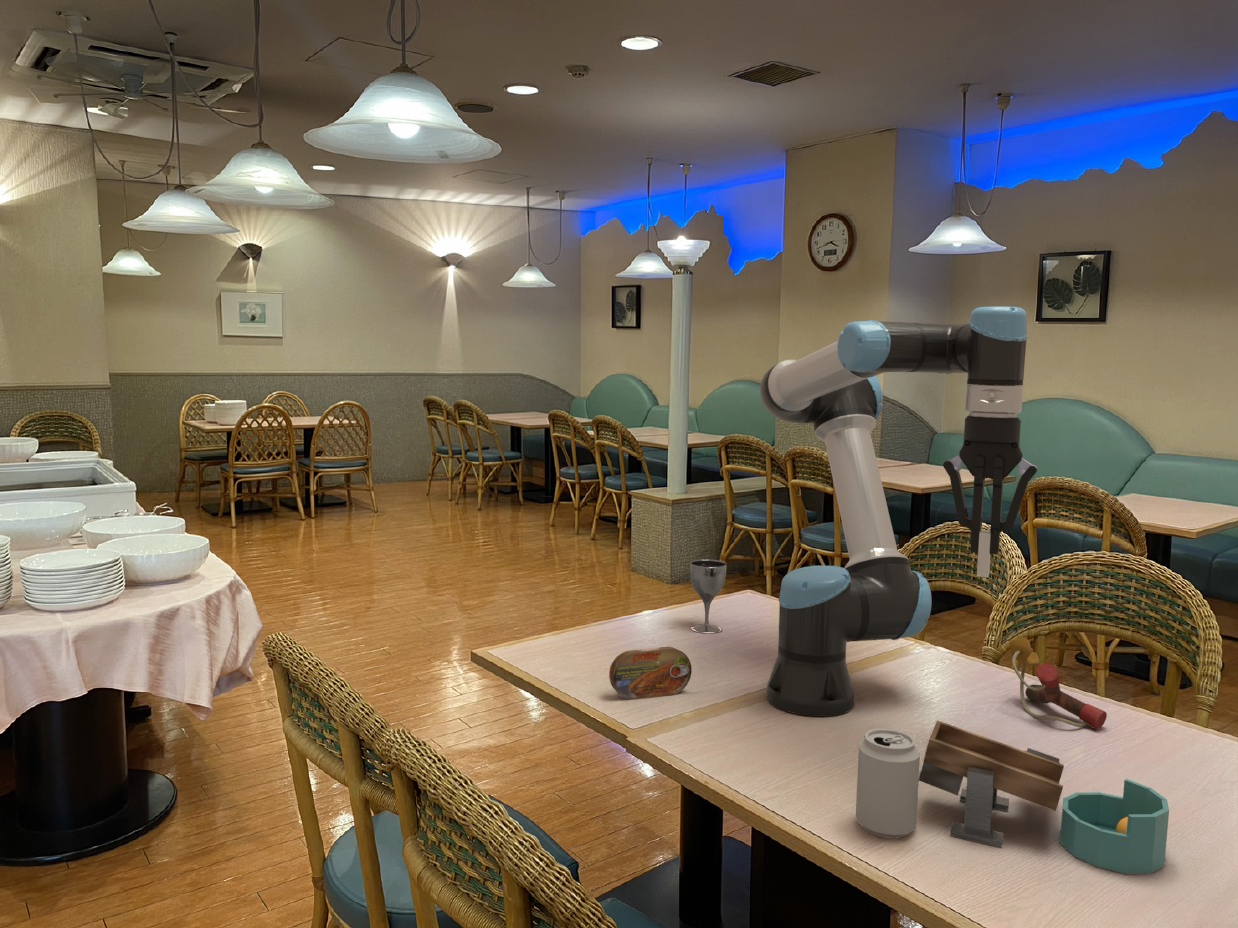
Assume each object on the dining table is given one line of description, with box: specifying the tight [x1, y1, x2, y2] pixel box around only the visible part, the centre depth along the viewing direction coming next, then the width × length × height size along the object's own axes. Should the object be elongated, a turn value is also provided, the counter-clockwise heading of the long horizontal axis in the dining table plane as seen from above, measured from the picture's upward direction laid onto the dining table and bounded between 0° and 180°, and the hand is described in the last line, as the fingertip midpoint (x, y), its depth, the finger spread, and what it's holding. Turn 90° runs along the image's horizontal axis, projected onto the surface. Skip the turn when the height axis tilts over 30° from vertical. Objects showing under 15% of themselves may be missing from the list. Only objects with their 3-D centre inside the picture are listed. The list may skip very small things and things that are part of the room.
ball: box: [1116, 817, 1128, 834], centre depth 111 cm, size 4×4×4 cm
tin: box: [608, 646, 693, 701], centre depth 162 cm, size 15×3×8 cm, turn 109°
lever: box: [919, 720, 1065, 812], centre depth 121 cm, size 16×13×6 cm
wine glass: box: [689, 558, 727, 633], centre depth 202 cm, size 8×8×15 cm
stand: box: [949, 767, 1010, 849], centre depth 119 cm, size 6×13×8 cm, turn 153°
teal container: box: [1059, 778, 1170, 875], centre depth 112 cm, size 11×11×7 cm
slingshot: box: [1009, 636, 1108, 731], centre depth 156 cm, size 17×10×15 cm
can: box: [855, 728, 921, 839], centre depth 116 cm, size 8×8×12 cm
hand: (983, 574), depth 134 cm, fingers closed
